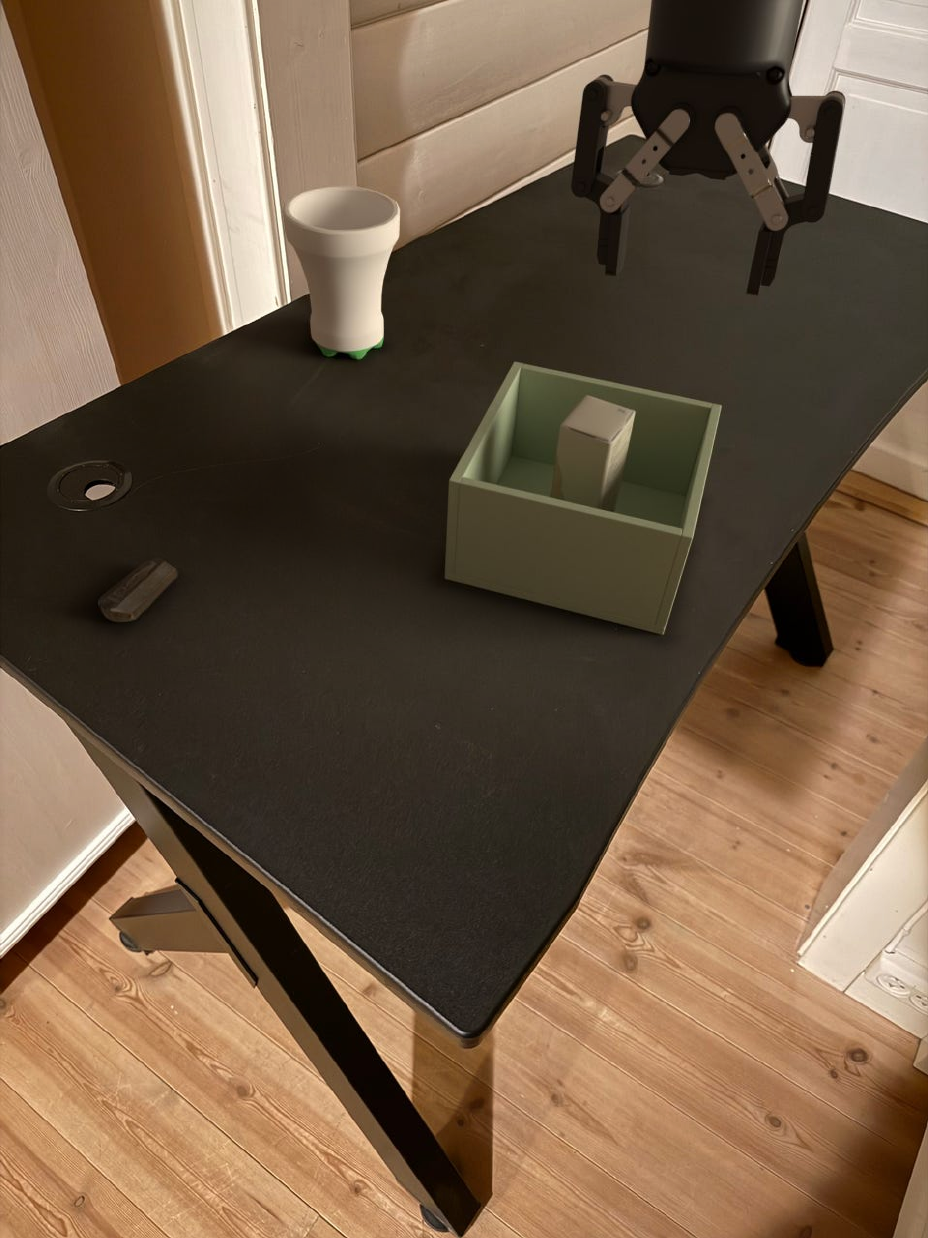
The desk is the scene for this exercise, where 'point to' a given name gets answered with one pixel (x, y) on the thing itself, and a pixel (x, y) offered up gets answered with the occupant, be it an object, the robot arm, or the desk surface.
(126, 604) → the block
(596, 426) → the box
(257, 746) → the desk surface
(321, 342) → the cup
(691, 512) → the bin
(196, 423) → the desk surface
